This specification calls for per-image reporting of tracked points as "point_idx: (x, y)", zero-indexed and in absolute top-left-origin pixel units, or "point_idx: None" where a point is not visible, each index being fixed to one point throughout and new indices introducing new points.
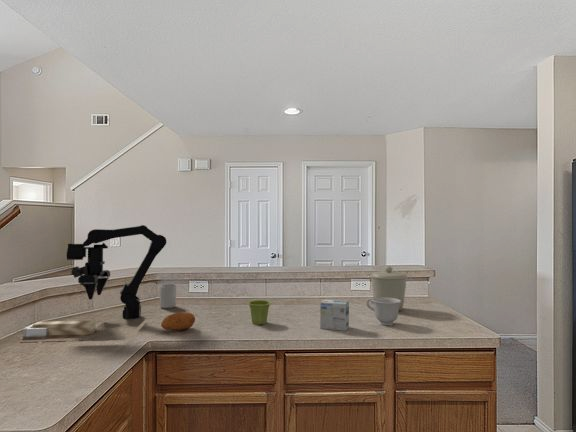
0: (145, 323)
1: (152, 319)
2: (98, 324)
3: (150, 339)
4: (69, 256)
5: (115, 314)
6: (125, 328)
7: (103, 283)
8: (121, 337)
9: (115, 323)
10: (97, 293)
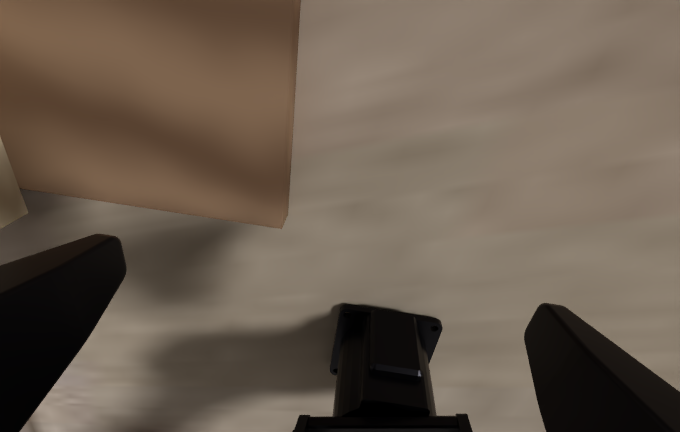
0: (299, 390)
1: None
2: (199, 201)
3: (42, 401)
4: None
5: (644, 239)
6: (205, 322)
7: None
8: None
9: (330, 268)
10: (557, 322)
